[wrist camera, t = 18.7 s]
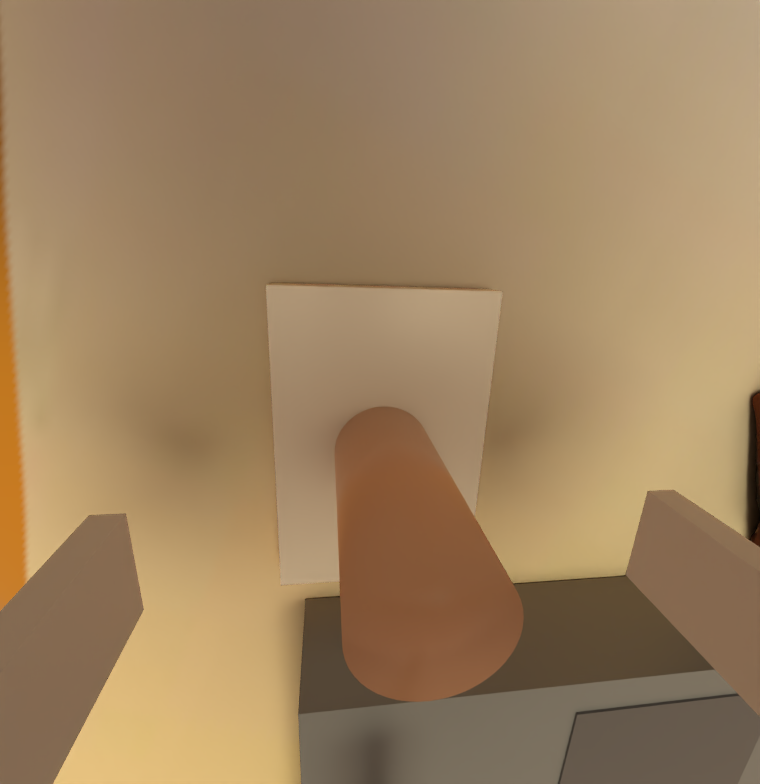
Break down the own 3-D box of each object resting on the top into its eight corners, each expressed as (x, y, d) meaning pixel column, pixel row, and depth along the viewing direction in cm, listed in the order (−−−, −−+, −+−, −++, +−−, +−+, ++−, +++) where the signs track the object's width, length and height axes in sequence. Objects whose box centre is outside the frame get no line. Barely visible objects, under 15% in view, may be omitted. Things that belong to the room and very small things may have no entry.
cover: (271, 282, 15) (182, 320, 6) (486, 288, 16) (704, 329, 7) (284, 560, 18) (242, 852, 9) (457, 550, 19) (571, 804, 10)
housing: (305, 599, 19) (297, 720, 14) (712, 569, 21) (827, 662, 16) (312, 819, 24) (308, 966, 19) (642, 772, 26) (715, 890, 21)
